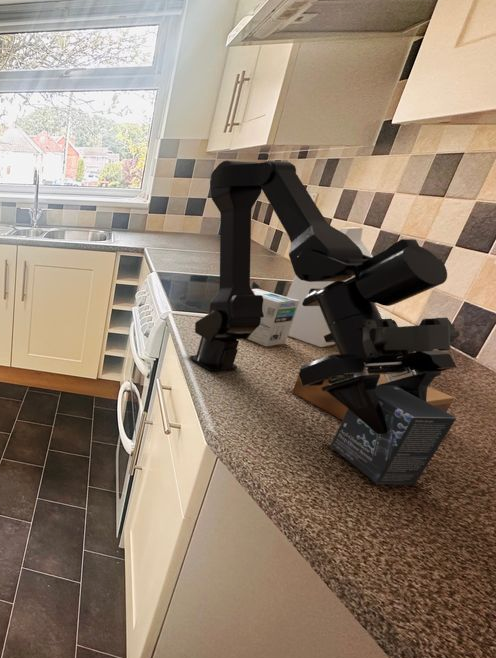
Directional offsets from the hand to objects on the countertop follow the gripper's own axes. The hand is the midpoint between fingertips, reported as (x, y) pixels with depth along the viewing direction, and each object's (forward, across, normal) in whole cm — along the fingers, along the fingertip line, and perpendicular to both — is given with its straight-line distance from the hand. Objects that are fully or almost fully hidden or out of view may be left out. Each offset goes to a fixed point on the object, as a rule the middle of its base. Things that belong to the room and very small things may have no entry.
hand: (402, 431), depth 53 cm
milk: (-28, +37, +38) cm, 60 cm away
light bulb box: (-28, +21, +37) cm, 51 cm away
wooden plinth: (-6, +14, +15) cm, 21 cm away
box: (+4, 0, +6) cm, 7 cm away
